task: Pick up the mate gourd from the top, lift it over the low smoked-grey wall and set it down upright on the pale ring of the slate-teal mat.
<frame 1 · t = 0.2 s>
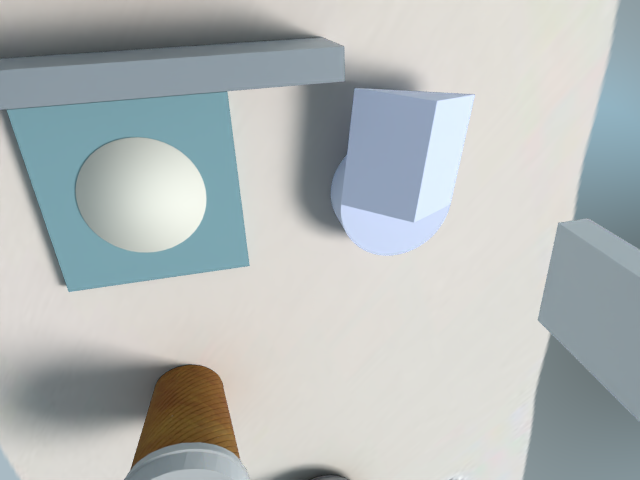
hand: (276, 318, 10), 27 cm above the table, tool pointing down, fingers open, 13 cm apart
low wall: (147, 64, 32), on the table
disposable coffee cup: (189, 388, 46), on the table
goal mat: (144, 193, 36), on the table
wedge on round base: (385, 164, 40), on the table
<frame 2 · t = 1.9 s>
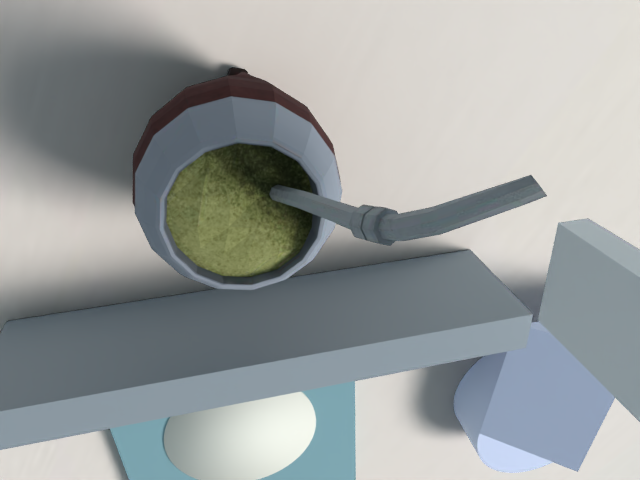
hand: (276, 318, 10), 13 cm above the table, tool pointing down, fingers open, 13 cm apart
mate gourd: (236, 130, 21), on the table
low wall: (258, 298, 26), on the table
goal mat: (241, 422, 30), on the table
wedge on round base: (519, 363, 33), on the table
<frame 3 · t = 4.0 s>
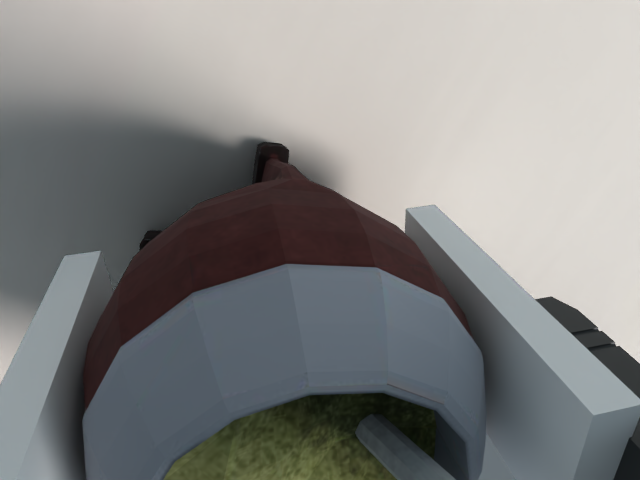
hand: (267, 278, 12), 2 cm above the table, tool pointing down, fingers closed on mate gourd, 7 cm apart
mate gourd: (268, 232, 14), on the table, touching gripper
low wall: (288, 450, 18), on the table
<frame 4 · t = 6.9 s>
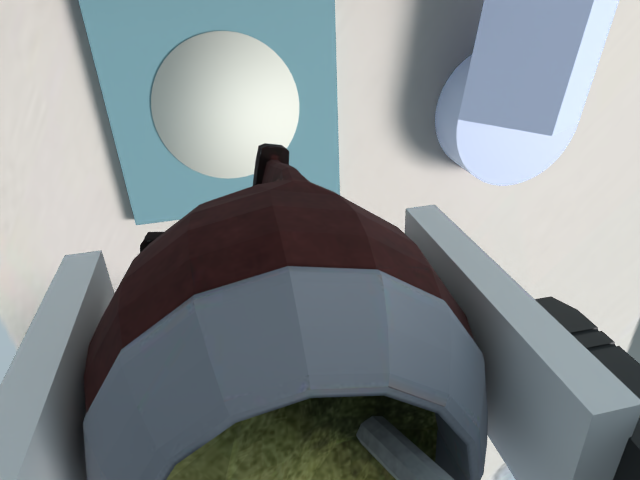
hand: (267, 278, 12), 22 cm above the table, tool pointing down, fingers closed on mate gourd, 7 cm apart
mate gourd: (268, 233, 14), point 19 cm above the table, touching gripper
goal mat: (227, 106, 31), on the table
wedge on round base: (499, 80, 34), on the table
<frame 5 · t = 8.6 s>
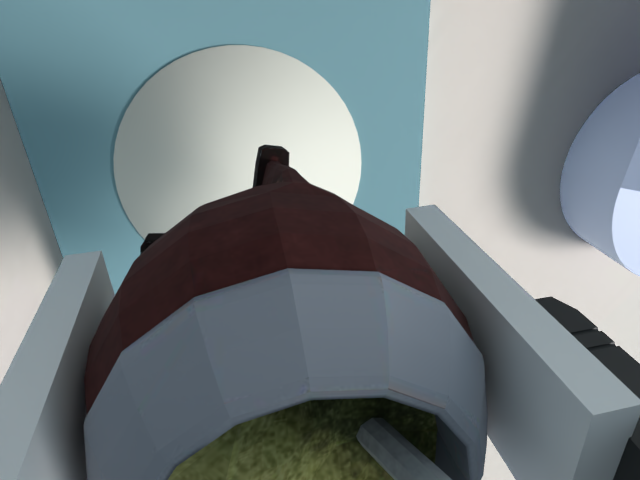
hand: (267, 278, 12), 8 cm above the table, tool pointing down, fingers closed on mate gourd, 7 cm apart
mate gourd: (268, 234, 14), point 6 cm above the table, touching gripper
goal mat: (242, 167, 19), on the table
when the fingers open (4 cm above the table, at t = 10.1 s): mate gourd stays where it is, resting on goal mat.
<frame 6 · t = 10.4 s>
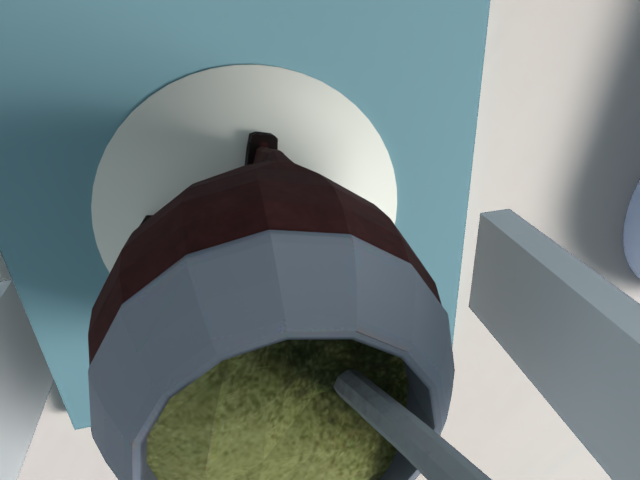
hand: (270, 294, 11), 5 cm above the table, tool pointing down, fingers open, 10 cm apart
mate gourd: (259, 217, 15), point 1 cm above the table, touching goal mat
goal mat: (251, 210, 15), on the table
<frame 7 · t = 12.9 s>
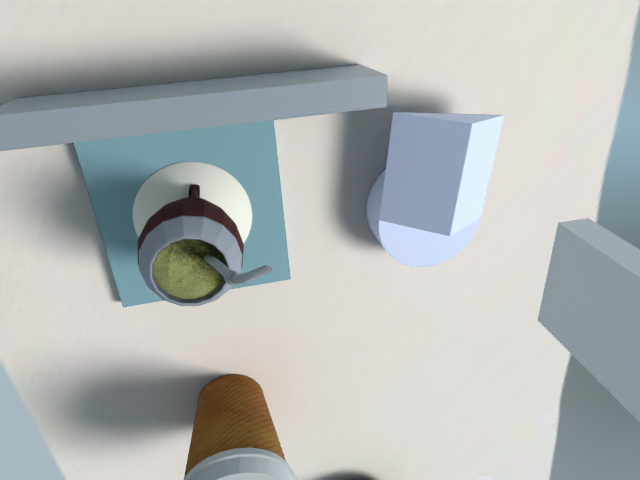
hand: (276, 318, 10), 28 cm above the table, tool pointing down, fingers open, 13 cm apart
mate gourd: (196, 215, 38), point 1 cm above the table, touching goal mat
low wall: (199, 94, 35), on the table
disposable coffee cup: (231, 397, 48), on the table
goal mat: (194, 213, 38), on the table
wedge on round base: (418, 181, 42), on the table
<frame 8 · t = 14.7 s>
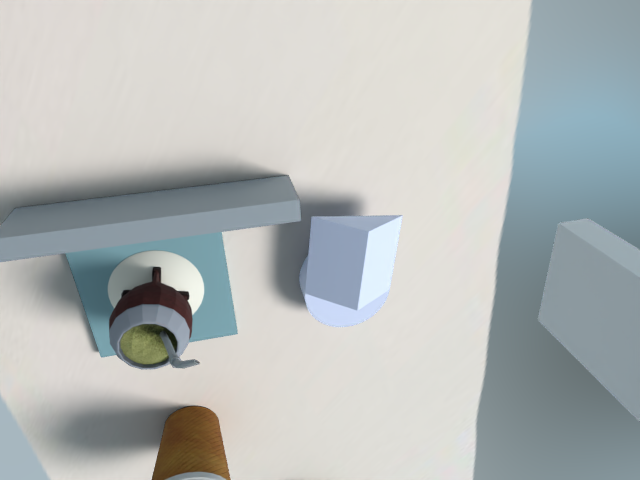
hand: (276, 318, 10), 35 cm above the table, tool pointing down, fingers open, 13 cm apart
mate gourd: (159, 289, 48), point 1 cm above the table, touching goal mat
low wall: (160, 201, 44), on the table
disposable coffee cup: (192, 423, 58), on the table
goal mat: (157, 286, 48), on the table
wedge on round base: (341, 257, 52), on the table
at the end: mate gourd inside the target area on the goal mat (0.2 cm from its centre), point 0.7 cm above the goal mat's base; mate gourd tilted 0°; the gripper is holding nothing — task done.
